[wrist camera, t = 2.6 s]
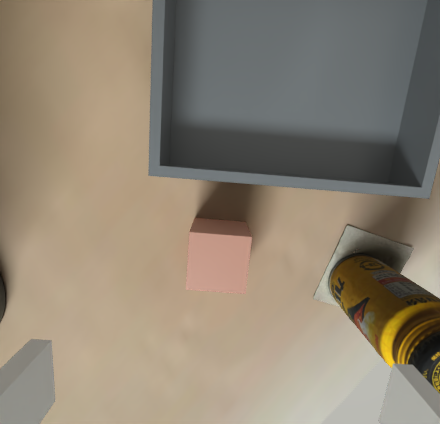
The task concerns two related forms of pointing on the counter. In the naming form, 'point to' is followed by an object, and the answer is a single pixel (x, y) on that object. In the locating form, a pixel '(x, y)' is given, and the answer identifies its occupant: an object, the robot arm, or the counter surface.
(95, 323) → the counter surface
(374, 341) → the condiment
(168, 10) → the tote
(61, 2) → the counter surface
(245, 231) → the cube
